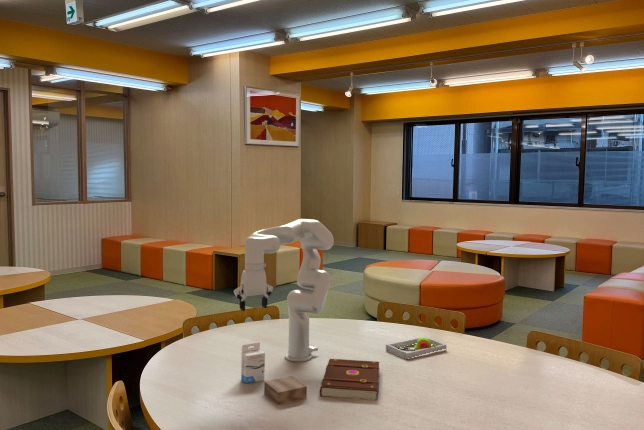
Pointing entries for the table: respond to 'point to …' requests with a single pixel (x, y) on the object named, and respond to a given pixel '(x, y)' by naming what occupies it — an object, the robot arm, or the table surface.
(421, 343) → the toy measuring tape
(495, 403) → the table surface
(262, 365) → the ink box
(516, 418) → the table surface
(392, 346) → the grey plastic rim
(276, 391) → the walnut block
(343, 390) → the book
